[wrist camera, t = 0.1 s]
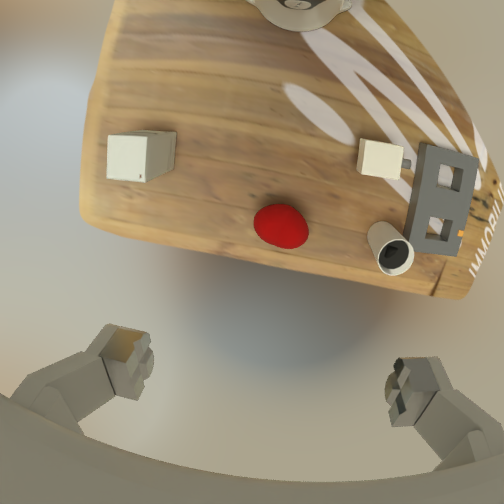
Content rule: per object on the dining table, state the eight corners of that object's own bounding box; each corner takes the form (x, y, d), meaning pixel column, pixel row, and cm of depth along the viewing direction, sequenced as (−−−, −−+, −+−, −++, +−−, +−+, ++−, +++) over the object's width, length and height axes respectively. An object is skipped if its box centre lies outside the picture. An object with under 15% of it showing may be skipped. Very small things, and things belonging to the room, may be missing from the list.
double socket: (419, 142, 48) (427, 144, 44) (470, 155, 47) (479, 159, 43) (400, 243, 56) (406, 251, 53) (449, 249, 55) (457, 257, 52)
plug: (356, 136, 49) (365, 139, 43) (400, 145, 49) (415, 149, 42) (352, 167, 52) (361, 174, 45) (396, 174, 51) (409, 182, 45)
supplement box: (178, 131, 53) (148, 136, 41) (174, 169, 56) (145, 184, 44) (142, 128, 53) (107, 133, 41) (139, 165, 56) (105, 179, 45)
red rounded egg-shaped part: (313, 206, 56) (317, 224, 47) (298, 239, 59) (299, 263, 50) (265, 188, 55) (259, 202, 46) (252, 222, 58) (244, 243, 49)
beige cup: (360, 247, 58) (372, 271, 49) (370, 215, 55) (384, 234, 46) (390, 254, 57) (406, 278, 48) (401, 223, 55) (419, 243, 46)
